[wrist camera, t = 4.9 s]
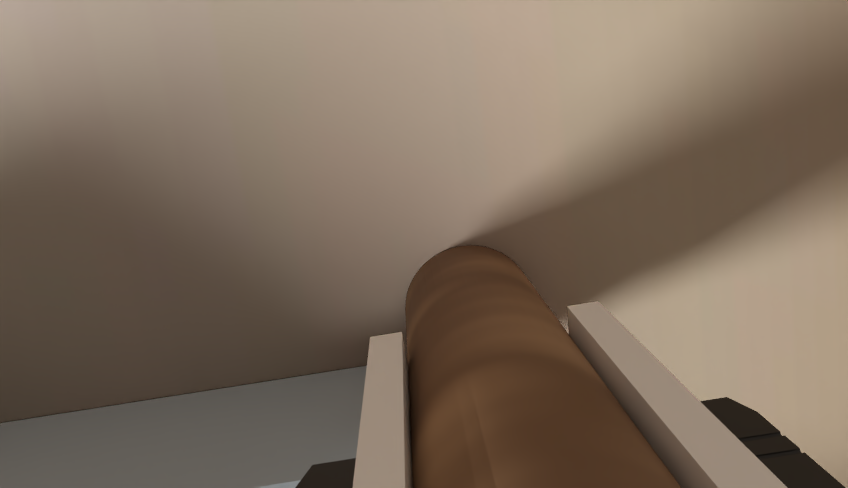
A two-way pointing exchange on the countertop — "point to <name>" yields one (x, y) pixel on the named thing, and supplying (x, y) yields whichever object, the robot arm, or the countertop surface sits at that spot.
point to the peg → (509, 388)
